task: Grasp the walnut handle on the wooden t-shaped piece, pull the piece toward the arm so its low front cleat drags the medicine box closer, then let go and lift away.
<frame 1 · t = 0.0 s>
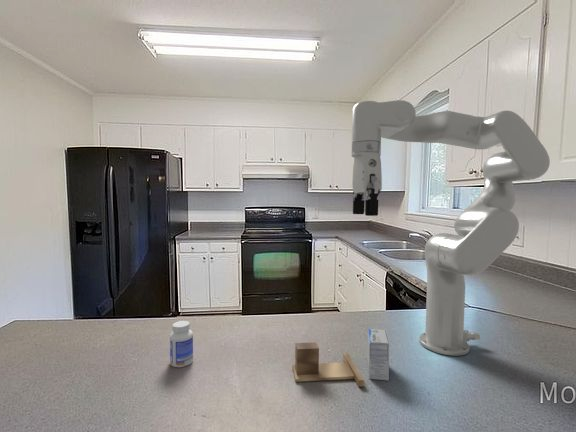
hand: (364, 214, 82), 37 cm above the counter, tool pointing down, fingers open, 9 cm apart
pill bottle: (181, 363, 75), on the counter
medicine box: (377, 372, 72), on the counter
wooden t-shaped piece: (325, 358, 71), point 3 cm above the counter, slide at 0.0 cm
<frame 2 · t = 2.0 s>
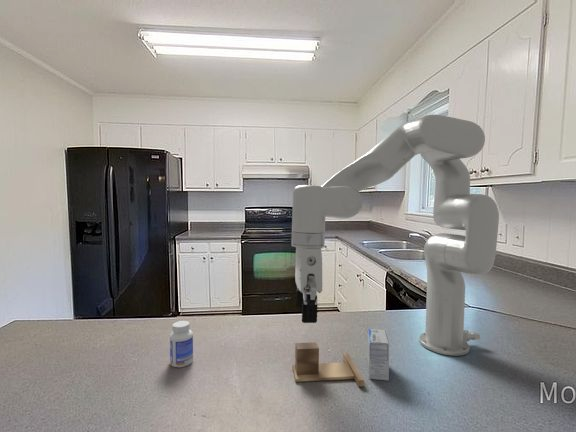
hand: (305, 314, 70), 14 cm above the counter, tool pointing down, fingers open, 9 cm apart
nothing on the counter moved.
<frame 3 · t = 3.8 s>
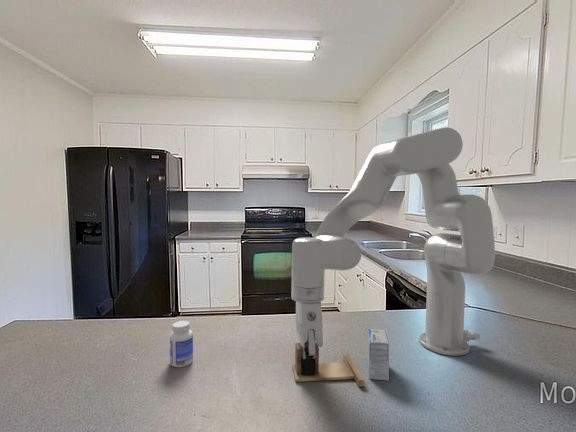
hand: (306, 369, 71), 1 cm above the counter, tool pointing down, fingers closed on wooden t-shaped piece, 3 cm apart
wooden t-shaped piece: (325, 358, 71), point 3 cm above the counter, slide at 0.0 cm, touching gripper
everything else where it was.
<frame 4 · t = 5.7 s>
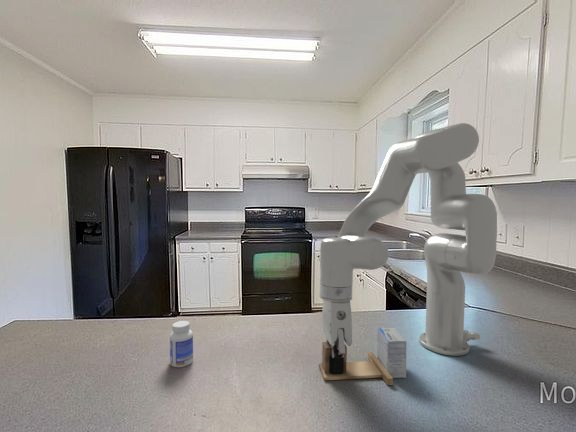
hand: (334, 367, 71), 1 cm above the counter, tool pointing down, fingers closed on wooden t-shaped piece, 3 cm apart
medicine box: (390, 370, 73), on the counter
wooden t-shaped piece: (352, 357, 72), point 3 cm above the counter, slide at 6.5 cm, touching gripper
everything else where it was.
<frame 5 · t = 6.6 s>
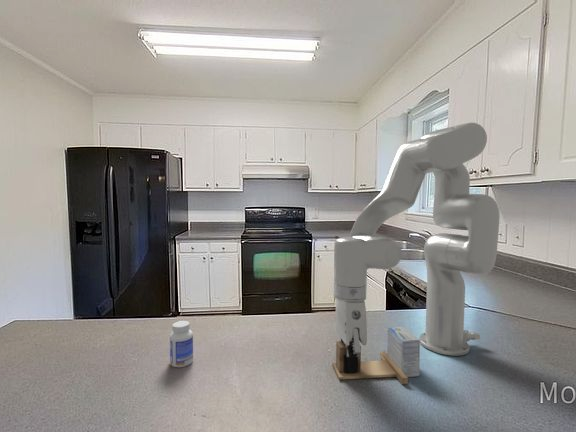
hand: (348, 367, 72), 1 cm above the counter, tool pointing down, fingers closed on wooden t-shaped piece, 3 cm apart
medicine box: (402, 369, 74), on the counter
wooden t-shaped piece: (365, 357, 72), point 3 cm above the counter, slide at 9.9 cm, touching gripper
everything else where it was.
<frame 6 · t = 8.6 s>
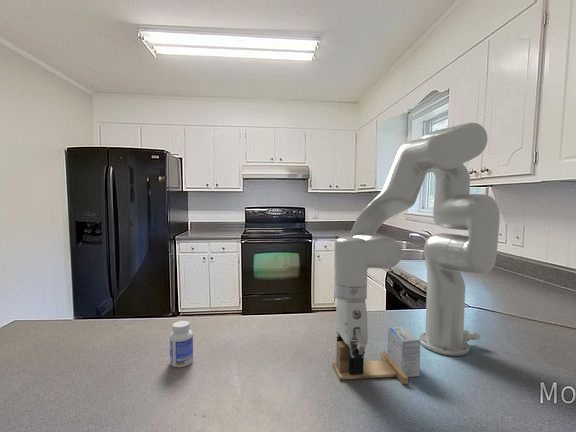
hand: (349, 362, 72), 2 cm above the counter, tool pointing down, fingers open, 9 cm apart
wooden t-shaped piece: (366, 357, 72), point 3 cm above the counter, slide at 9.9 cm
everything else where it was.
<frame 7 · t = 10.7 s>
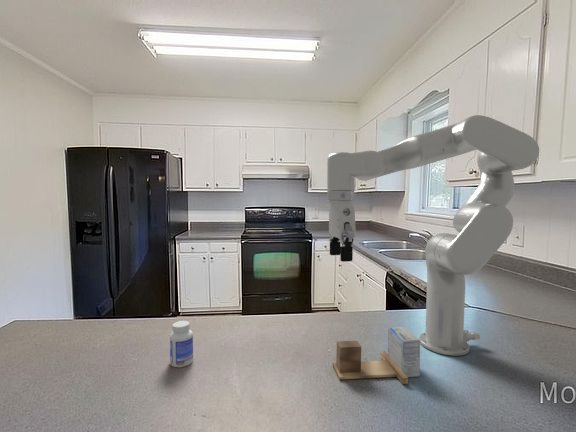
hand: (340, 257, 86), 24 cm above the counter, tool pointing down, fingers open, 9 cm apart
nothing on the counter moved.
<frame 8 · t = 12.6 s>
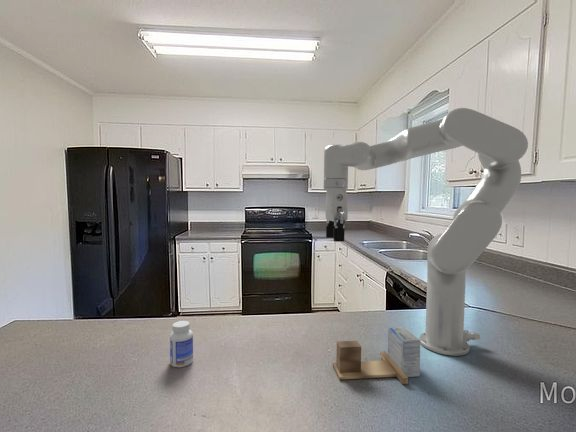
hand: (334, 239, 97), 28 cm above the counter, tool pointing down, fingers open, 9 cm apart
nothing on the counter moved.
at the end: wooden t-shaped piece slide at 9.9 cm; medicine box inside the target area (0.8 cm from its centre), on the counter; medicine box tilted 0° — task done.
